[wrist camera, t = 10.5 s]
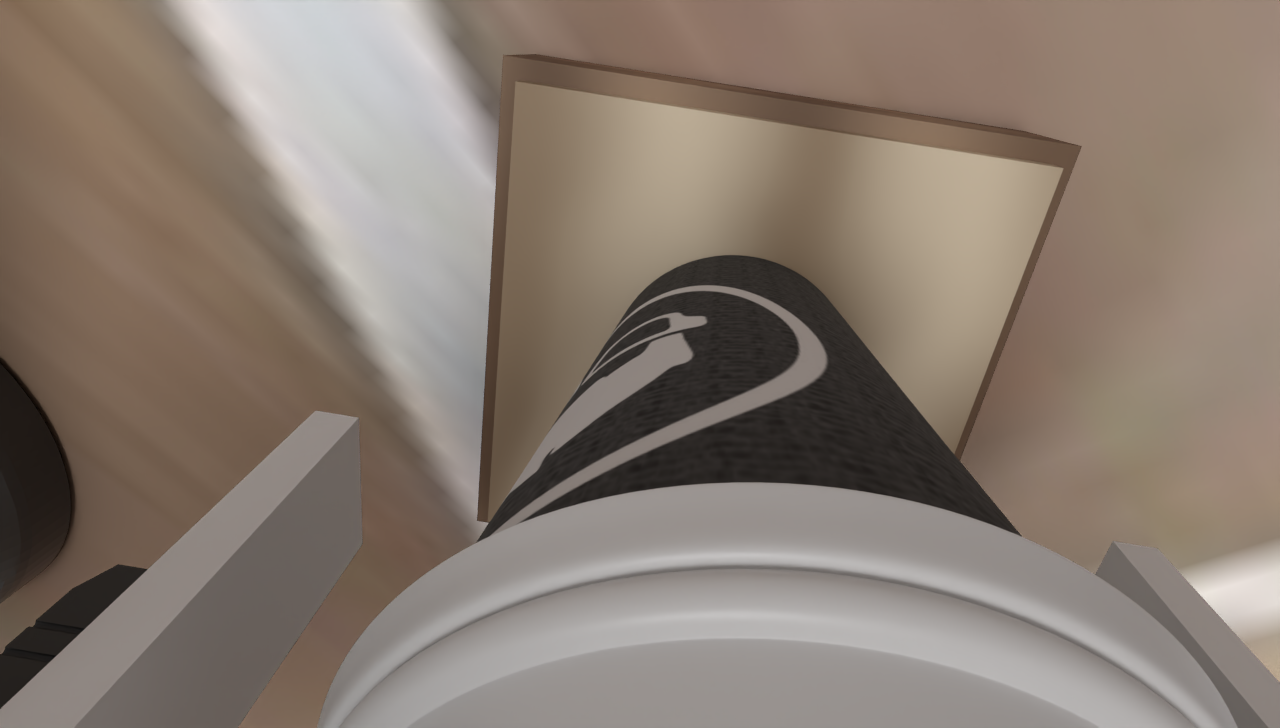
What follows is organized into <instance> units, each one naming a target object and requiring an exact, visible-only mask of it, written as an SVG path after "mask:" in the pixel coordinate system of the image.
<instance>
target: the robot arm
mask: <svg viewBox="0 0 1280 728" xmlns="http://www.w3.org/2000/svg"><path fill="white" fill-rule="evenodd" d="M70 513H71V499H70V490H69V484H68V479H67V474H66V471H65V467H64V464H63V461H62V458H61V455H60V452H59V450H58V448H57V445H56V443H55V441H54V439H53V437H52V435H51V433H50V431H49V429H48V427H47V425H46V423H45V422H44V420H43V418H42V417H41V415H40V413H39V412H38V410H37V409H36V407H35V406H34V404H33V403H32V401H31V400H30V399H29V397H28V396H27V395H26V393H25V392H24V391H23V389H22V388H21V387H20V386H19V384H18V383H17V382H16V381H15V380H14V378H13V377H12V376H11V375H10V374H9V373H8V372H7V370H6V369H5V368H4V367H3V366H2V365H1V364H0V603H1V602H3V601H4V600H5V599H7V598H8V597H9V596H11V595H12V594H13V593H14V592H16V591H17V590H18V589H20V588H21V587H22V586H24V585H25V584H26V583H27V582H29V581H30V580H31V579H33V578H34V577H35V576H36V575H38V574H39V573H40V572H42V571H43V570H44V569H45V568H46V567H47V566H48V565H49V564H50V563H51V562H52V561H53V560H54V558H55V557H56V556H57V554H58V552H59V551H60V549H61V547H62V545H63V543H64V541H65V538H66V535H67V532H68V527H69V522H70ZM362 544H363V543H362V508H361V473H360V439H359V418H358V417H352V416H346V415H340V414H333V413H327V412H321V411H315V412H314V413H312V414H311V415H310V416H309V417H308V418H307V419H306V420H305V421H304V422H303V423H302V424H301V425H300V426H299V427H298V428H297V429H296V430H294V431H293V432H292V433H291V434H290V435H289V436H288V437H287V438H286V439H285V440H284V441H283V442H282V443H281V444H280V445H279V446H278V447H277V448H275V449H274V450H273V451H272V452H271V453H270V454H269V455H268V456H267V457H266V458H265V459H264V460H263V461H262V462H261V463H260V464H259V465H258V466H256V467H255V468H254V469H253V470H252V471H251V472H250V473H249V474H248V475H247V476H246V477H245V478H244V479H243V480H242V481H241V482H240V483H239V484H237V485H236V486H235V487H234V488H233V489H232V490H231V491H230V492H229V493H228V494H227V495H226V496H225V497H224V498H223V499H222V500H221V501H219V502H218V503H217V504H216V505H215V506H214V507H213V508H212V509H211V510H210V511H209V512H208V513H207V514H206V515H205V516H204V517H203V518H202V519H200V520H199V521H198V522H197V523H196V524H195V525H194V526H193V527H192V528H191V529H190V530H189V531H188V532H187V533H186V534H185V535H184V536H183V537H181V538H180V539H179V540H178V541H177V542H176V543H175V544H174V545H173V546H172V547H171V548H170V549H169V550H168V551H167V552H166V553H165V554H164V555H162V556H161V557H160V558H159V559H158V560H157V561H156V562H155V563H154V564H153V565H152V566H151V567H150V568H149V569H143V568H137V567H131V566H125V565H119V564H118V565H116V566H115V567H113V568H111V569H109V570H107V571H105V572H103V573H101V574H99V575H98V576H96V577H94V578H92V579H90V580H88V581H86V582H84V583H82V584H80V585H79V586H77V587H75V588H73V589H72V590H70V591H69V592H68V593H67V594H66V595H65V596H64V597H62V598H61V599H60V600H59V601H58V602H57V603H55V604H54V605H53V606H52V607H51V608H50V609H48V610H47V611H46V612H45V613H44V614H43V615H42V616H40V617H39V618H38V619H37V620H36V623H35V625H34V626H33V627H28V628H26V629H25V630H24V631H23V632H22V633H21V634H20V635H18V636H17V637H16V638H15V639H14V640H13V641H11V642H10V643H9V644H8V645H7V646H6V647H5V650H4V652H3V653H2V654H0V728H238V726H239V725H240V724H241V722H242V721H243V719H244V718H245V716H246V715H247V713H248V712H249V710H250V709H251V707H252V706H253V704H254V703H255V701H256V700H257V699H258V697H259V696H260V694H261V693H262V691H263V690H264V688H265V687H266V685H267V684H268V682H269V681H270V679H271V678H272V676H273V675H274V673H275V672H276V671H277V669H278V668H279V666H280V665H281V663H282V662H283V660H284V659H285V657H286V656H287V654H288V653H289V651H290V650H291V648H292V647H293V646H294V644H295V643H296V641H297V640H298V638H299V637H300V635H301V634H302V632H303V631H304V629H305V628H306V626H307V625H308V623H309V622H310V620H311V619H312V618H313V616H314V615H315V613H316V612H317V610H318V609H319V607H320V606H321V604H322V603H323V601H324V600H325V598H326V597H327V595H328V594H329V592H330V591H331V590H332V588H333V587H334V585H335V584H336V582H337V581H338V579H339V578H340V576H341V575H342V573H343V572H344V570H345V569H346V567H347V566H348V565H349V563H350V562H351V560H352V559H353V557H354V556H355V554H356V553H357V551H358V550H359V548H360V547H361V545H362ZM1095 575H1096V576H1098V577H1100V578H1101V579H1103V580H1104V581H1106V582H1107V583H1109V584H1110V585H1112V586H1113V587H1115V588H1116V589H1118V590H1119V591H1120V592H1122V593H1123V594H1125V595H1126V596H1127V597H1129V598H1130V599H1131V600H1133V601H1134V602H1135V603H1137V604H1138V605H1139V606H1140V607H1142V608H1143V609H1144V610H1145V611H1146V612H1148V613H1149V614H1150V615H1151V616H1152V617H1154V618H1155V619H1156V620H1157V621H1158V622H1159V623H1160V624H1161V625H1162V626H1163V627H1165V628H1166V629H1167V630H1168V631H1169V632H1170V633H1171V634H1172V635H1173V636H1174V637H1175V638H1176V639H1177V640H1178V641H1179V642H1180V643H1181V644H1182V645H1183V646H1184V647H1185V649H1186V650H1187V651H1188V652H1189V653H1190V654H1191V656H1192V657H1193V658H1194V659H1195V660H1196V661H1197V663H1198V664H1199V665H1200V666H1201V668H1202V669H1203V670H1204V672H1205V673H1206V674H1207V676H1208V677H1209V678H1210V680H1211V681H1212V683H1213V684H1214V686H1215V687H1216V689H1217V690H1218V692H1219V693H1220V695H1221V697H1222V698H1223V700H1224V702H1225V704H1226V705H1227V707H1228V709H1229V711H1230V713H1231V715H1232V717H1233V719H1234V721H1235V723H1236V725H1237V727H1238V728H1280V682H1279V681H1278V680H1277V679H1276V678H1275V677H1274V676H1273V675H1272V674H1271V673H1270V671H1269V670H1268V669H1267V668H1266V667H1265V666H1264V665H1263V664H1262V663H1261V662H1260V660H1259V659H1258V658H1257V657H1256V656H1255V655H1254V654H1253V653H1252V652H1251V651H1250V649H1249V648H1248V647H1247V646H1246V645H1245V644H1244V643H1243V642H1242V641H1241V640H1240V638H1239V637H1238V636H1237V635H1236V634H1235V633H1234V632H1233V631H1232V630H1231V629H1230V627H1229V626H1228V625H1227V624H1226V623H1225V622H1224V621H1223V620H1222V619H1221V618H1220V616H1219V615H1218V614H1217V613H1216V612H1215V611H1214V610H1213V609H1212V608H1211V607H1210V605H1209V604H1208V603H1207V602H1206V601H1205V600H1204V599H1203V598H1202V597H1201V596H1200V594H1199V593H1198V592H1197V591H1196V590H1195V589H1194V588H1193V587H1192V586H1191V585H1190V584H1189V582H1188V581H1187V580H1186V579H1185V578H1184V577H1183V576H1182V575H1181V574H1180V573H1179V571H1178V570H1177V569H1176V568H1175V567H1174V566H1173V565H1172V564H1171V563H1170V562H1169V560H1168V559H1167V558H1166V557H1165V556H1164V555H1163V554H1162V553H1161V552H1160V551H1159V549H1158V548H1152V547H1146V546H1140V545H1134V544H1128V543H1122V542H1116V541H1113V542H1112V544H1111V546H1110V548H1109V549H1108V551H1107V553H1106V555H1105V557H1104V559H1103V561H1102V563H1101V565H1100V567H1099V568H1098V570H1097V572H1096V574H1095Z"/></svg>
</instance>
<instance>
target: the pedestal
mask: <svg viewBox="0 0 1280 728" xmlns="http://www.w3.org/2000/svg"><path fill="white" fill-rule="evenodd" d="M1081 147H1082V146H1078V145H1074V144H1071V143H1067V142H1063V141H1059V140H1056V139H1052V138H1048V137H1044V136H1040V135H1037V134H1033V133H1029V132H1025V131H1019V130H1013V129H1007V128H1000V127H994V126H988V125H981V124H975V123H968V122H962V121H956V120H949V119H943V118H937V117H930V116H924V115H918V114H911V113H905V112H899V111H892V110H886V109H879V108H873V107H867V106H860V105H854V104H848V103H841V102H835V101H829V100H822V99H816V98H810V97H803V96H797V95H790V94H784V93H778V92H771V91H765V90H759V89H752V88H746V87H740V86H733V85H727V84H721V83H714V82H708V81H701V80H695V79H689V78H682V77H676V76H670V75H663V74H657V73H651V72H644V71H638V70H632V69H625V68H619V67H612V66H606V65H600V64H593V63H587V62H581V61H574V60H568V59H562V58H555V57H549V56H543V55H536V54H531V55H503V66H502V84H501V102H500V120H499V138H498V156H497V174H496V192H495V210H494V228H493V246H492V264H491V281H490V299H489V317H488V335H487V353H486V371H485V389H484V407H483V425H482V443H481V461H480V479H479V497H478V515H477V521H482V522H488V523H489V522H490V521H491V519H492V518H493V516H494V515H495V513H496V512H497V510H498V509H499V507H500V506H501V504H502V503H503V501H504V500H505V498H506V497H507V495H508V494H509V492H510V490H511V489H512V487H513V486H514V484H515V483H516V481H517V480H518V478H519V477H520V475H521V474H522V472H523V471H524V469H525V467H526V466H527V464H528V463H529V461H530V460H531V458H532V457H533V455H534V454H535V452H536V451H537V449H538V447H539V446H540V444H541V443H542V441H543V440H544V438H545V437H546V435H547V434H548V432H549V431H550V429H551V427H552V426H553V424H554V423H555V421H556V420H557V418H558V417H559V415H560V414H561V412H562V410H563V409H564V407H565V406H566V404H567V403H568V401H569V400H570V398H571V396H572V395H573V393H574V392H575V390H576V389H577V387H578V386H579V384H580V382H581V381H582V379H583V378H584V376H585V375H586V373H587V372H588V370H589V369H590V367H591V365H592V364H593V362H594V361H595V359H596V358H597V356H598V355H599V353H600V351H601V350H602V348H603V347H604V345H605V344H606V342H607V340H608V339H609V337H610V336H611V334H612V333H613V331H614V330H615V328H616V326H617V325H618V323H619V322H620V320H621V319H622V317H623V316H624V314H625V313H626V311H627V309H628V308H629V307H630V305H631V304H632V303H633V301H634V300H635V299H636V298H637V297H638V295H639V294H640V293H641V292H642V291H643V290H644V289H645V288H646V287H647V286H649V285H650V284H651V283H652V282H653V281H655V280H656V279H658V278H659V277H660V276H662V275H663V274H665V273H667V272H669V271H670V270H672V269H674V268H676V267H679V266H681V265H683V264H686V263H689V262H691V261H695V260H698V259H702V258H707V257H713V256H722V255H742V256H751V257H757V258H762V259H766V260H769V261H772V262H775V263H778V264H781V265H783V266H785V267H787V268H789V269H791V270H793V271H795V272H797V273H798V274H800V275H802V276H803V277H805V278H806V279H807V280H809V281H810V282H811V283H813V284H814V285H815V286H816V287H817V288H818V289H819V290H820V291H821V292H822V293H823V294H824V295H825V296H826V297H827V298H828V300H829V301H830V302H831V303H832V304H833V306H834V307H835V308H836V309H837V310H838V312H839V313H840V314H841V315H842V317H843V318H844V319H845V320H846V322H847V323H848V324H849V325H850V327H851V328H852V329H853V330H854V332H855V333H856V334H857V335H858V337H859V338H860V339H861V340H862V342H863V343H864V344H865V345H866V346H867V348H868V349H869V350H870V351H871V353H872V354H873V355H874V356H875V358H876V359H877V360H878V361H879V363H880V364H881V365H882V366H883V368H884V369H885V370H886V371H887V372H888V374H889V375H890V376H891V377H892V379H893V380H894V381H895V382H896V384H897V385H898V386H899V387H900V388H901V390H902V391H903V392H904V393H905V395H906V396H907V397H908V398H909V400H910V401H911V402H912V403H913V404H914V406H915V407H916V408H917V409H918V411H919V412H920V413H921V414H922V416H923V417H924V418H925V419H926V421H927V422H928V423H929V424H930V425H931V427H932V428H933V429H934V430H935V432H936V433H937V434H938V435H939V436H940V438H941V439H942V440H943V441H944V443H945V444H946V445H947V446H948V447H949V449H950V450H951V451H952V452H953V454H954V455H955V456H956V457H957V458H958V460H959V461H960V459H961V456H962V453H963V451H964V448H965V446H966V443H967V441H968V438H969V435H970V433H971V430H972V428H973V425H974V423H975V420H976V417H977V415H978V412H979V410H980V407H981V405H982V402H983V399H984V397H985V394H986V392H987V389H988V386H989V384H990V381H991V379H992V376H993V374H994V371H995V368H996V366H997V363H998V361H999V358H1000V356H1001V353H1002V350H1003V348H1004V345H1005V343H1006V340H1007V338H1008V335H1009V332H1010V330H1011V327H1012V325H1013V322H1014V320H1015V317H1016V314H1017V312H1018V309H1019V307H1020V304H1021V301H1022V299H1023V296H1024V294H1025V291H1026V289H1027V286H1028V283H1029V281H1030V278H1031V276H1032V273H1033V271H1034V268H1035V265H1036V263H1037V260H1038V258H1039V255H1040V253H1041V250H1042V247H1043V245H1044V242H1045V240H1046V237H1047V235H1048V232H1049V229H1050V227H1051V224H1052V222H1053V219H1054V216H1055V214H1056V211H1057V209H1058V206H1059V204H1060V201H1061V198H1062V196H1063V193H1064V191H1065V188H1066V186H1067V183H1068V180H1069V178H1070V175H1071V173H1072V170H1073V168H1074V165H1075V162H1076V160H1077V157H1078V155H1079V152H1080V150H1081Z"/></svg>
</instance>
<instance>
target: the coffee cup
mask: <svg viewBox="0 0 1280 728" xmlns="http://www.w3.org/2000/svg"><path fill="white" fill-rule="evenodd" d="M317 728H1238V727H1237V725H1236V723H1235V721H1234V719H1233V717H1232V715H1231V713H1230V711H1229V709H1228V707H1227V705H1226V704H1225V702H1224V700H1223V698H1222V697H1221V695H1220V693H1219V692H1218V690H1217V689H1216V687H1215V686H1214V684H1213V683H1212V681H1211V680H1210V678H1209V677H1208V676H1207V674H1206V673H1205V672H1204V670H1203V669H1202V668H1201V666H1200V665H1199V664H1198V663H1197V661H1196V660H1195V659H1194V658H1193V657H1192V656H1191V654H1190V653H1189V652H1188V651H1187V650H1186V649H1185V647H1184V646H1183V645H1182V644H1181V643H1180V642H1179V641H1178V640H1177V639H1176V638H1175V637H1174V636H1173V635H1172V634H1171V633H1170V632H1169V631H1168V630H1167V629H1166V628H1165V627H1163V626H1162V625H1161V624H1160V623H1159V622H1158V621H1157V620H1156V619H1155V618H1154V617H1152V616H1151V615H1150V614H1149V613H1148V612H1146V611H1145V610H1144V609H1143V608H1142V607H1140V606H1139V605H1138V604H1137V603H1135V602H1134V601H1133V600H1131V599H1130V598H1129V597H1127V596H1126V595H1125V594H1123V593H1122V592H1120V591H1119V590H1118V589H1116V588H1115V587H1113V586H1112V585H1110V584H1109V583H1107V582H1106V581H1104V580H1103V579H1101V578H1100V577H1098V576H1096V575H1095V574H1093V573H1091V572H1090V571H1088V570H1086V569H1085V568H1083V567H1081V566H1080V565H1078V564H1076V563H1074V562H1072V561H1071V560H1069V559H1067V558H1065V557H1063V556H1061V555H1059V554H1057V553H1055V552H1053V551H1051V550H1049V549H1047V548H1045V547H1043V546H1041V545H1039V544H1037V543H1035V542H1032V541H1030V540H1028V539H1026V538H1023V537H1022V536H1021V535H1020V534H1019V532H1018V531H1017V530H1016V529H1015V528H1014V526H1013V525H1012V524H1011V523H1010V522H1009V520H1008V519H1007V518H1006V517H1005V516H1004V514H1003V513H1002V512H1001V511H1000V510H999V508H998V507H997V506H996V505H995V503H994V502H993V501H992V500H991V499H990V497H989V496H988V495H987V494H986V493H985V491H984V490H983V489H982V488H981V486H980V485H979V484H978V483H977V482H976V480H975V479H974V478H973V477H972V476H971V474H970V473H969V472H968V471H967V469H966V468H965V467H964V466H963V465H962V463H961V462H960V461H959V460H958V458H957V457H956V456H955V455H954V454H953V452H952V451H951V450H950V449H949V447H948V446H947V445H946V444H945V443H944V441H943V440H942V439H941V438H940V436H939V435H938V434H937V433H936V432H935V430H934V429H933V428H932V427H931V425H930V424H929V423H928V422H927V421H926V419H925V418H924V417H923V416H922V414H921V413H920V412H919V411H918V409H917V408H916V407H915V406H914V404H913V403H912V402H911V401H910V400H909V398H908V397H907V396H906V395H905V393H904V392H903V391H902V390H901V388H900V387H899V386H898V385H897V384H896V382H895V381H894V380H893V379H892V377H891V376H890V375H889V374H888V372H887V371H886V370H885V369H884V368H883V366H882V365H881V364H880V363H879V361H878V360H877V359H876V358H875V356H874V355H873V354H872V353H871V351H870V350H869V349H868V348H867V346H866V345H865V344H864V343H863V342H862V340H861V339H860V338H859V337H858V335H857V334H856V333H855V332H854V330H853V329H852V328H851V327H850V325H849V324H848V323H847V322H846V320H845V319H844V318H843V317H842V315H841V314H840V313H839V312H838V310H837V309H836V308H835V307H834V306H833V304H832V303H831V302H830V301H829V300H828V298H827V297H826V296H825V295H824V294H823V293H822V292H821V291H820V290H819V289H818V288H817V287H816V286H815V285H814V284H813V283H811V282H810V281H809V280H807V279H806V278H805V277H803V276H802V275H800V274H798V273H797V272H795V271H793V270H791V269H789V268H787V267H785V266H783V265H781V264H778V263H775V262H772V261H769V260H766V259H762V258H757V257H751V256H742V255H722V256H713V257H707V258H702V259H698V260H695V261H691V262H689V263H686V264H683V265H681V266H679V267H676V268H674V269H672V270H670V271H669V272H667V273H665V274H663V275H662V276H660V277H659V278H658V279H656V280H655V281H653V282H652V283H651V284H650V285H649V286H647V287H646V288H645V289H644V290H643V291H642V292H641V293H640V294H639V295H638V297H637V298H636V299H635V300H634V301H633V303H632V304H631V305H630V307H629V308H628V309H627V311H626V313H625V314H624V316H623V317H622V319H621V320H620V322H619V323H618V325H617V326H616V328H615V330H614V331H613V333H612V334H611V336H610V337H609V339H608V340H607V342H606V344H605V345H604V347H603V348H602V350H601V351H600V353H599V355H598V356H597V358H596V359H595V361H594V362H593V364H592V365H591V367H590V369H589V370H588V372H587V373H586V375H585V376H584V378H583V379H582V381H581V382H580V384H579V386H578V387H577V389H576V390H575V392H574V393H573V395H572V396H571V398H570V400H569V401H568V403H567V404H566V406H565V407H564V409H563V410H562V412H561V414H560V415H559V417H558V418H557V420H556V421H555V423H554V424H553V426H552V427H551V429H550V431H549V432H548V434H547V435H546V437H545V438H544V440H543V441H542V443H541V444H540V446H539V447H538V449H537V451H536V452H535V454H534V455H533V457H532V458H531V460H530V461H529V463H528V464H527V466H526V467H525V469H524V471H523V472H522V474H521V475H520V477H519V478H518V480H517V481H516V483H515V484H514V486H513V487H512V489H511V490H510V492H509V494H508V495H507V497H506V498H505V500H504V501H503V503H502V504H501V506H500V507H499V509H498V510H497V512H496V513H495V515H494V516H493V518H492V519H491V521H490V522H489V524H488V525H487V527H486V528H485V530H484V532H483V533H482V535H481V536H480V538H479V539H478V541H477V542H476V543H475V544H473V545H471V546H469V547H468V548H466V549H464V550H462V551H460V552H459V553H457V554H455V555H454V556H452V557H450V558H449V559H447V560H445V561H444V562H442V563H441V564H439V565H438V566H436V567H435V568H433V569H432V570H430V571H429V572H427V573H426V574H425V575H423V576H422V577H421V578H419V579H418V580H416V581H415V582H414V583H413V584H411V585H410V586H409V587H408V588H407V589H405V590H404V591H403V592H402V593H400V594H399V595H398V596H397V597H396V598H395V599H394V600H393V601H392V602H391V603H390V604H388V605H387V606H386V607H385V608H384V609H383V611H382V612H381V613H380V614H379V615H378V616H377V617H376V618H375V619H374V620H373V621H372V622H371V624H370V625H369V626H368V627H367V628H366V629H365V631H364V632H363V633H362V634H361V636H360V637H359V638H358V640H357V641H356V642H355V644H354V645H353V647H352V648H351V650H350V651H349V653H348V654H347V656H346V658H345V659H344V661H343V663H342V664H341V666H340V668H339V670H338V672H337V674H336V676H335V678H334V680H333V682H332V684H331V686H330V689H329V691H328V694H327V696H326V699H325V702H324V705H323V708H322V711H321V715H320V718H319V722H318V726H317Z"/></svg>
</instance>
